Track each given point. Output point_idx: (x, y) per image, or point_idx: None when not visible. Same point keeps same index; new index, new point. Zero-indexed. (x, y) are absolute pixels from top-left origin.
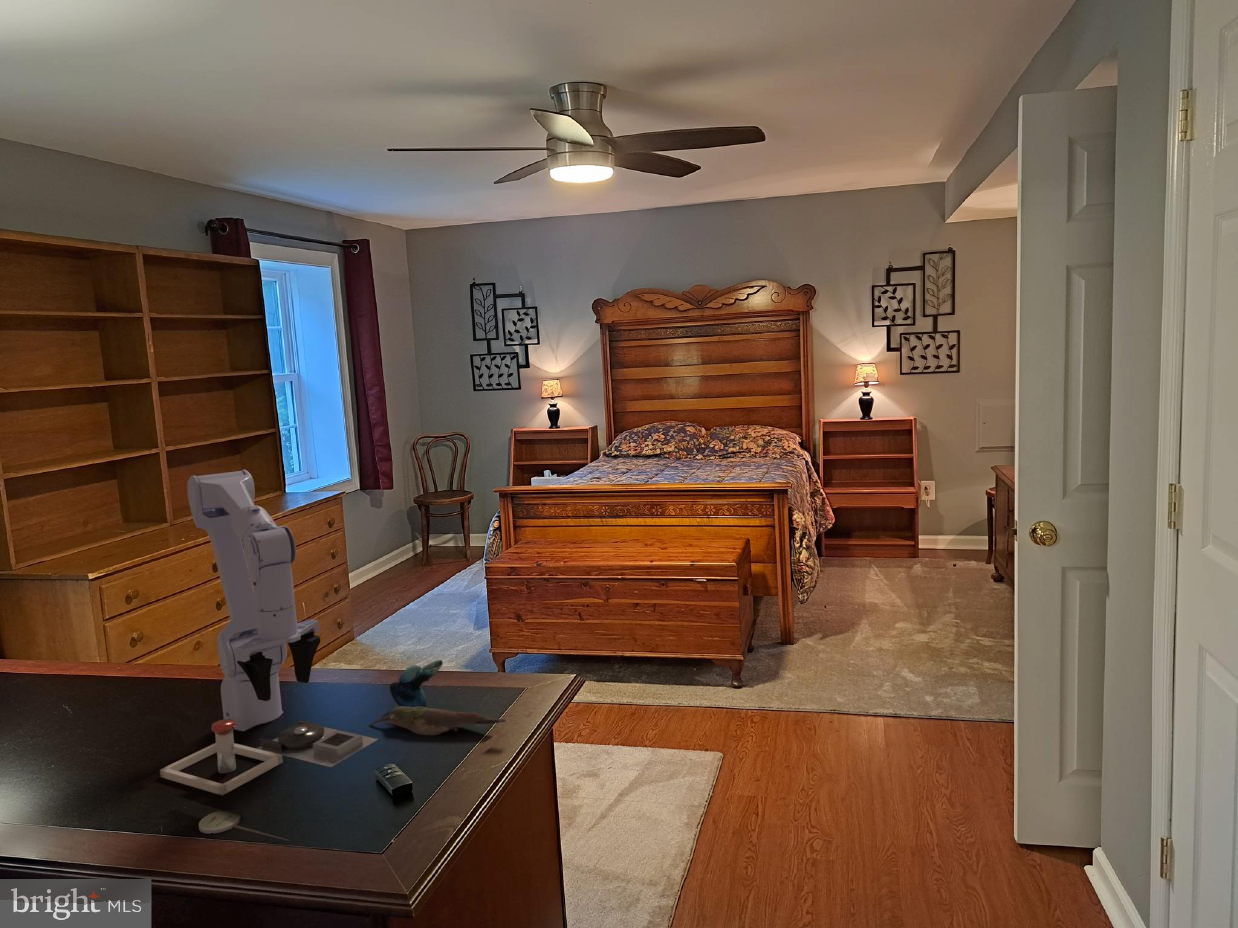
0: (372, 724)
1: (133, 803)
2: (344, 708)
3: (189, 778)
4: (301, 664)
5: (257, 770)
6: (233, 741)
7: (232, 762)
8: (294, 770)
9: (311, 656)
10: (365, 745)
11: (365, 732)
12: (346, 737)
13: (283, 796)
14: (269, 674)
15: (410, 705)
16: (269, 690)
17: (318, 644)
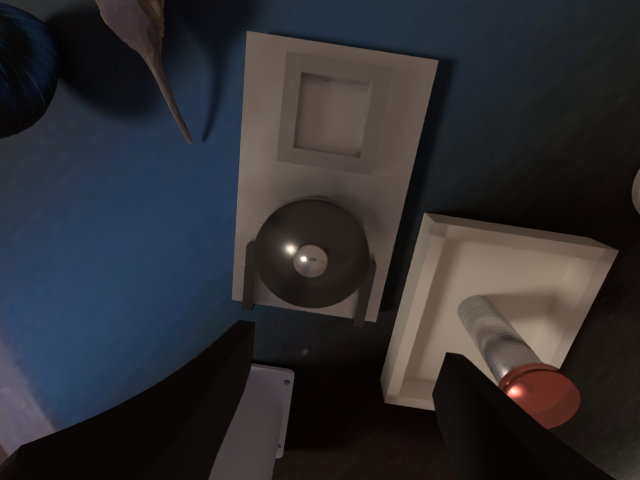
0: (179, 113)
1: (587, 395)
2: (113, 278)
3: (568, 348)
4: (221, 404)
5: (511, 232)
6: (501, 342)
7: (491, 310)
8: (424, 183)
9: (173, 393)
10: (295, 44)
11: (196, 138)
12: (297, 111)
13: (554, 116)
14: (532, 449)
15: (39, 37)
16: (475, 377)
17: (58, 436)
